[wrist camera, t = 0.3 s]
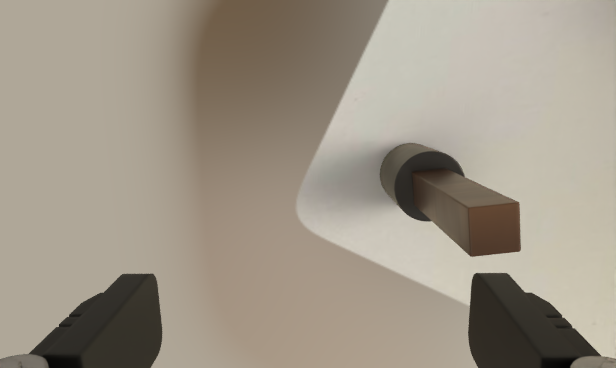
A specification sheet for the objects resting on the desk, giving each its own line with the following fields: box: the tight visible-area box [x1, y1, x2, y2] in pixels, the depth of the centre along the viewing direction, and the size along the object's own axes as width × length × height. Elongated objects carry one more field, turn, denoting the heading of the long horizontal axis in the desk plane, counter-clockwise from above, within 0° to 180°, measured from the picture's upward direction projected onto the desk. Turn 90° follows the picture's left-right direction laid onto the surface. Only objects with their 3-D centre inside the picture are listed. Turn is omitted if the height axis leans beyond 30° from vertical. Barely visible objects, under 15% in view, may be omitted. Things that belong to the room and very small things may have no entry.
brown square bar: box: [380, 143, 521, 257], centre depth 30 cm, size 5×5×17 cm
